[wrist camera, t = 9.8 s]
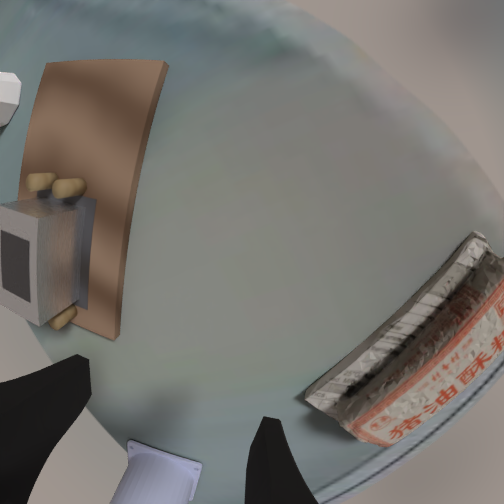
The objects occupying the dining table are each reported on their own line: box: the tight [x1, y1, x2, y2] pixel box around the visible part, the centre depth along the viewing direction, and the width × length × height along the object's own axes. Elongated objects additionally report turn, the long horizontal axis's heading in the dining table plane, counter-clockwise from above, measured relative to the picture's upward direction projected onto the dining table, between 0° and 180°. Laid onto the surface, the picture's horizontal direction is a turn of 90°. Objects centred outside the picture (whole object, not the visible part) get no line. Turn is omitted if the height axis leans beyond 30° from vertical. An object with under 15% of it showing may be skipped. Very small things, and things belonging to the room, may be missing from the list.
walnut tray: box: [18, 59, 169, 340], centre depth 18 cm, size 20×11×4 cm, turn 166°
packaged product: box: [305, 231, 504, 447], centre depth 18 cm, size 18×5×10 cm
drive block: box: [0, 197, 86, 327], centre depth 17 cm, size 7×4×5 cm, turn 166°
